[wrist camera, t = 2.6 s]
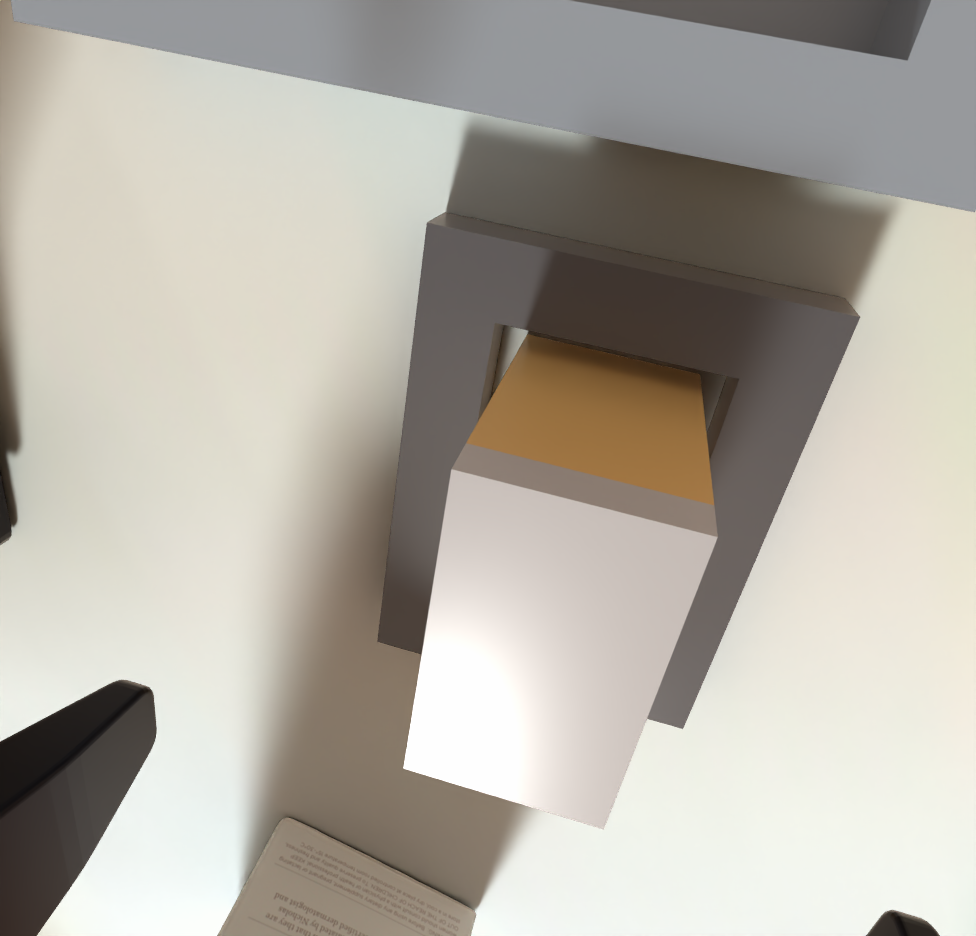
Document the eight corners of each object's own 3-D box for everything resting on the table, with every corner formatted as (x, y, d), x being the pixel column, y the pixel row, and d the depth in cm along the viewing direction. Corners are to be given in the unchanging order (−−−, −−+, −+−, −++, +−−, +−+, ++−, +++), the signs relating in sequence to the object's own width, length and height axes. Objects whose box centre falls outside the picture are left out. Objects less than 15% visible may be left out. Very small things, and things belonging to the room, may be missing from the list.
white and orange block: (480, 567, 18) (404, 768, 13) (527, 333, 15) (451, 469, 10) (622, 605, 17) (604, 829, 12) (700, 373, 14) (717, 537, 9)
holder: (393, 611, 19) (377, 641, 18) (445, 212, 14) (426, 222, 13) (682, 691, 18) (682, 728, 17) (845, 298, 13) (859, 316, 12)
